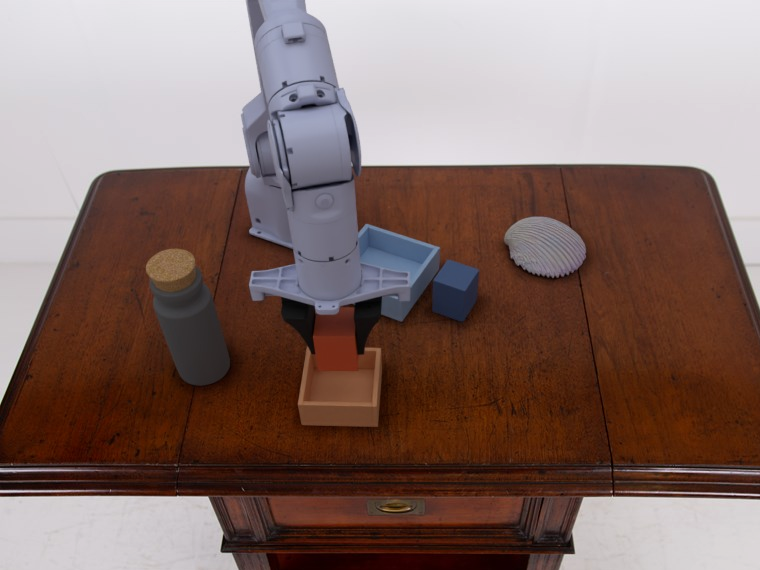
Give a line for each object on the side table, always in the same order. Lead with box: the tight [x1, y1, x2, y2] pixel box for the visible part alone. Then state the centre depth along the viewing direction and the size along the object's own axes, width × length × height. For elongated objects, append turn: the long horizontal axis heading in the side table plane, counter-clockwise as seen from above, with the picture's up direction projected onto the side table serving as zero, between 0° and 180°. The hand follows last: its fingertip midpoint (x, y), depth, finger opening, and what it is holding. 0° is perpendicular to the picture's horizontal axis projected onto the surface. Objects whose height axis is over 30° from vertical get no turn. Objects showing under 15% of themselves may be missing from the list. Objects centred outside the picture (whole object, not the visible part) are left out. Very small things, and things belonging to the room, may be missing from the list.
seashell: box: [503, 216, 587, 279], centre depth 94 cm, size 10×6×10 cm
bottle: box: [145, 248, 231, 387], centre depth 79 cm, size 6×6×15 cm
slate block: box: [431, 258, 480, 323], centre depth 88 cm, size 4×4×5 cm
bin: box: [351, 223, 441, 323], centre depth 91 cm, size 10×10×4 cm
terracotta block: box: [313, 306, 359, 371], centre depth 75 cm, size 4×4×5 cm
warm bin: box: [297, 345, 383, 428], centre depth 80 cm, size 8×8×4 cm
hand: (338, 347), depth 76 cm, fingers closed on terracotta block, 4 cm apart
